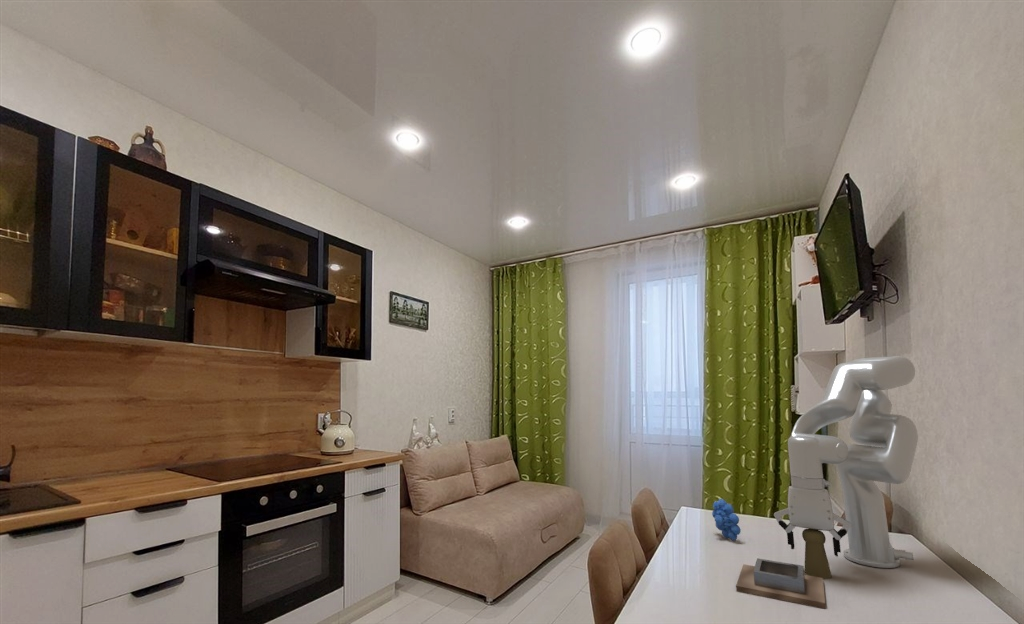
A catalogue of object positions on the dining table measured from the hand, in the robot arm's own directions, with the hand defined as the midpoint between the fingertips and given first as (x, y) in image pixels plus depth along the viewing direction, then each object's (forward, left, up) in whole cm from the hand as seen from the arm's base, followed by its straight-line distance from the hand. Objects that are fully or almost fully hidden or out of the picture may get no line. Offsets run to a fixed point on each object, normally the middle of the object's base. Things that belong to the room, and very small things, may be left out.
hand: (814, 551), depth 122 cm
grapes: (+25, -19, -6) cm, 32 cm away
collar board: (+8, +14, -6) cm, 17 cm away
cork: (0, 0, -6) cm, 6 cm away
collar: (+8, +14, -4) cm, 16 cm away
